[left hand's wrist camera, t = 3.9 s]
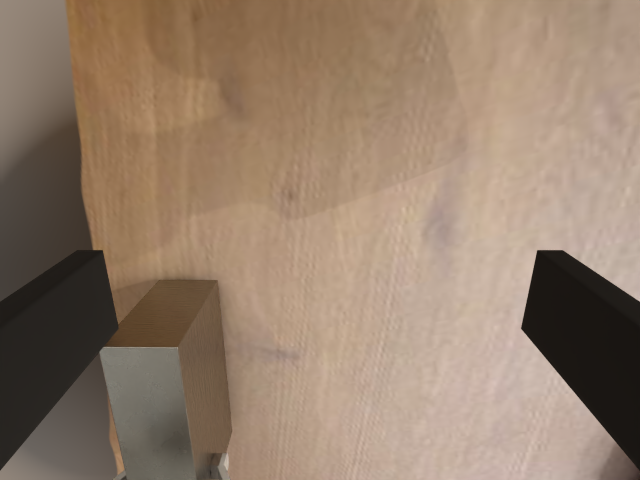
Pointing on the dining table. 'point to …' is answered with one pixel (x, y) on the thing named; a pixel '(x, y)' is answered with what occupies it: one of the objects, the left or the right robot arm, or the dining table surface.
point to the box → (170, 382)
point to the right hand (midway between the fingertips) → (185, 456)
